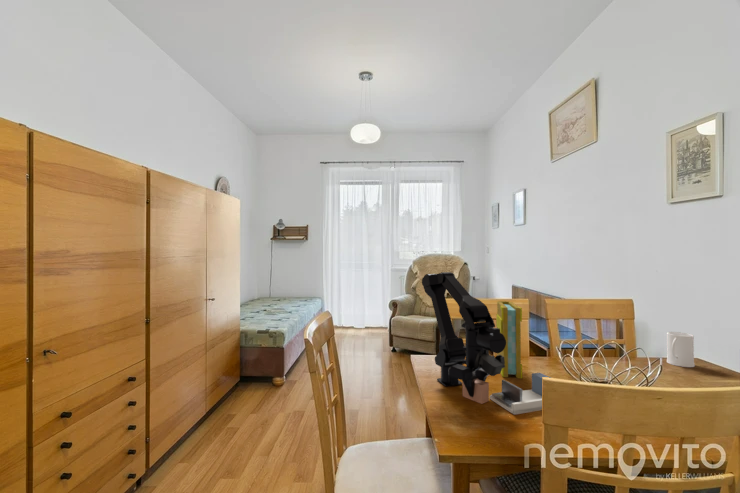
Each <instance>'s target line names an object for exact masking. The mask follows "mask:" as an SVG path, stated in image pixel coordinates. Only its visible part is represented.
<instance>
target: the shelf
mask: <svg viewBox="0 0 740 493" xmlns="http://www.w3.org/2000/svg"><path fill="white" fill-rule="evenodd" d="M542 377H549V378H552V377H550V376H548V375H546V374H544V373H542V372H533V373H531V389H525V390H522V402H515V403H512V406H511V407H509V406H508V405H506V404H504V403H503V402H501V401H500V400H498V399H496V398H495V397H493V396H492V394H491V395H490V394H489V400H491V401H492V402H494V403H496V404H497V405H499V406H500V407H502V408H503V409H504V410H506V411H508V412H510V413H511V414H513V415H520V414H521V415H522V414H525V413H526V414H527V413H534V412H537V411H542V410H541V409H542Z"/></svg>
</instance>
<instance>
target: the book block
mask: <svg viewBox="0 0 740 493" xmlns="http://www.w3.org/2000/svg"><path fill="white" fill-rule="evenodd" d="M489 387H490V383H489V382H487V381H486V380H485V381H482V380H479V379H476V380H475V386H474V396H473V397H470V396H469V393H468V391H467V389H466V387H465V385H464V383H463V382H462V397H463V398H465V399H469V400H471V401H473V402H476V403H478V404H480V405H482V404H485V403H487V402H490V388H489Z"/></svg>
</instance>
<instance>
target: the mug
mask: <svg viewBox="0 0 740 493" xmlns="http://www.w3.org/2000/svg"><path fill="white" fill-rule="evenodd" d="M694 337H695V336H694V335H693V334H691V333H688V332H687V333H686V332H681V331H668V332H666V349H667V350H666V356H667V357H666V364H667V363H668V364H670V365H671V366H672V365H673V366H676V367H682V368H694V367H696V364H695V354H694V352H695V346H694V345H695V344H694V343H695V342H694V341H695V340H694Z"/></svg>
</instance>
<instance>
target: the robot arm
mask: <svg viewBox="0 0 740 493" xmlns="http://www.w3.org/2000/svg"><path fill="white" fill-rule="evenodd" d="M421 284H422V288H423V289H424V290H423V291H424V292H425V293H426V295H427V296H428V297H429V298H430V299H431V303H432V307H433V311H434V314H435V317H436V318H435V319H436V323H437V327H438V330H439V334H440V341H439V344H438V349H439V350H438V353H437V354H436V355H435V357H434V363H435V365H437V366H439V367H440V377H438V378H437V379H436V381H437V382H439V383H441V385H442V386H444V387H454V386H459V385H462V386H463V383H464V385H465V387H466V389H467V391H468V393H469V396H470V397H473V396H474V386H475V380H476V379H479V380H482V381H485V382H486V380H487V378H488V377H489V376H492V377H495V376H497V375H501V370H502V368H504V367H505V365H504V364H505V360H504V357H503V356H502V355H496V356H495V355H491V354H490V353H489V352H492V353H494V354H497V353H500V352H502V351H503V350H504V348H505V346H506V340H505V337H504V335H503V334H501V333H500V329H499V328H497V327H496V325H495V320H494V319H493V318H492V315H491V314H490V311H489V308H488V307H487V305H486V304H485V303H484V302H483V301H481V299H478V298H475V297H474V296H472V295H471V294H470V293H469V292H468V290H466V288H465V287H464V286H463V285H462V284H461V283H460V281H459V280H458V279H457V278H456V276H455V273H453V272H451V271H447V272H445V271H444V272H442V271H441V272H438V273H426V274H424V276H423V277H422V279H421ZM446 291H447V292H448V293H449V295H450V296H451V298H453V300H454V301H455V303H456V304H457V305H458V307H459V309H458V313H459V315H460V316H461V318H462V320H463V321H464V322H463V323H462V324H461V328H464V329H465V342H464V340H463V337H458V335H456V333H455V329H454V325H453V321H452V318H451V315H450V314H451V313H450V311H449V307H448V302H447V300H446V295H445V294H446ZM464 343H465V344H464Z"/></svg>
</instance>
